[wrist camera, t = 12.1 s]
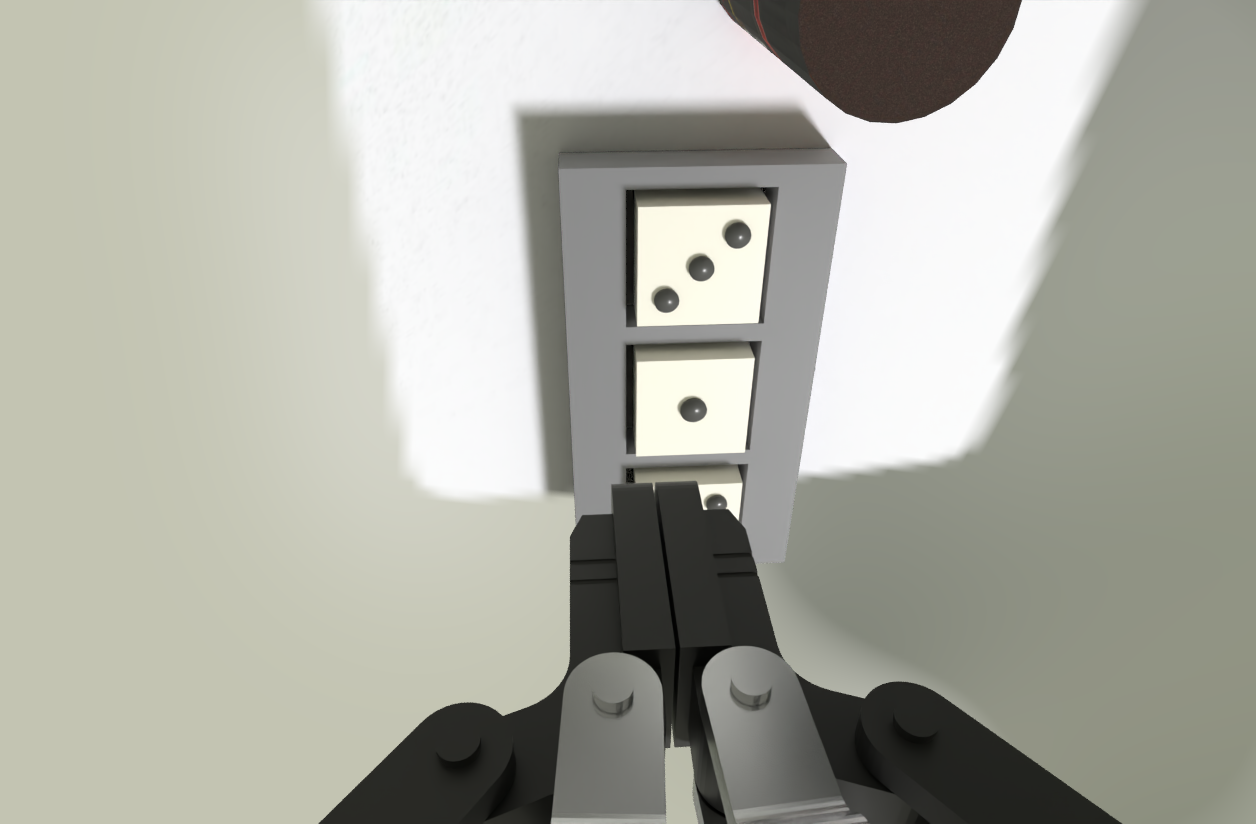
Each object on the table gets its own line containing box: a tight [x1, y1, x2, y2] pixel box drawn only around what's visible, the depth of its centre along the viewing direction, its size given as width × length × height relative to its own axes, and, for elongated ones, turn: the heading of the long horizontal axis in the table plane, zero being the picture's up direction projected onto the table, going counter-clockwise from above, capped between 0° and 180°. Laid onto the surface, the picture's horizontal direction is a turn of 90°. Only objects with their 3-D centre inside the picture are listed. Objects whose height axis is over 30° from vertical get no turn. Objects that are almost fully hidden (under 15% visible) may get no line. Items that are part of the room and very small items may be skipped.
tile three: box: [634, 187, 771, 327], centre depth 38 cm, size 6×6×3 cm
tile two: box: [633, 464, 743, 521], centre depth 46 cm, size 6×6×3 cm
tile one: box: [633, 341, 755, 457], centre depth 42 cm, size 6×6×3 cm
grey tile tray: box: [558, 148, 847, 563], centre depth 43 cm, size 13×25×2 cm, turn 0°
